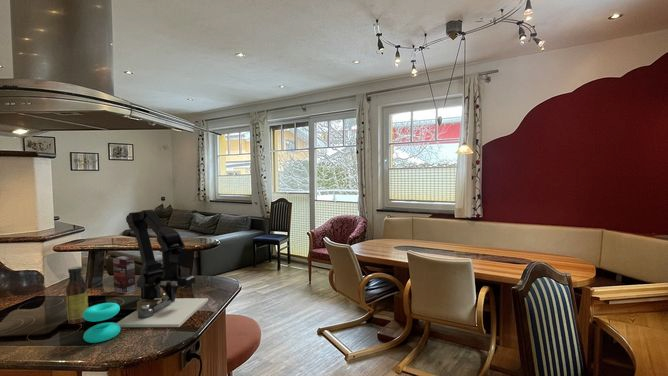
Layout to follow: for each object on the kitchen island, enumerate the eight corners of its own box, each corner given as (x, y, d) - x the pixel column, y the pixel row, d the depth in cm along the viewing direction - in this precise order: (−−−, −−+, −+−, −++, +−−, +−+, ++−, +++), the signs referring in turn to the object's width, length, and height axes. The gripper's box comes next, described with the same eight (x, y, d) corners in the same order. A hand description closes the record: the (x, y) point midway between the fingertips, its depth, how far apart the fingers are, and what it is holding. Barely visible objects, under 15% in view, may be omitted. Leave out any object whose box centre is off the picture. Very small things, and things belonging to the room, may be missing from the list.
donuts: (80, 307, 108) (116, 299, 115) (81, 337, 108) (116, 327, 115) (85, 315, 101) (123, 306, 108) (86, 347, 101) (123, 336, 108)
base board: (114, 327, 115) (114, 324, 115) (154, 300, 140) (154, 298, 140) (179, 327, 115) (178, 324, 115) (208, 300, 140) (207, 298, 140)
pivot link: (146, 319, 119) (146, 308, 119) (134, 318, 120) (134, 307, 120) (177, 301, 136) (177, 292, 136) (166, 300, 137) (166, 291, 137)
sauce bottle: (93, 319, 122) (91, 266, 122) (75, 326, 116) (73, 270, 116) (80, 316, 125) (79, 264, 124) (62, 323, 119) (60, 269, 118)
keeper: (136, 312, 126) (136, 301, 125) (141, 309, 129) (141, 299, 128) (157, 312, 125) (157, 301, 125) (161, 309, 128) (161, 299, 128)
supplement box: (113, 292, 152) (112, 258, 151) (123, 289, 156) (122, 255, 156) (126, 294, 149) (125, 259, 148) (136, 290, 153) (135, 257, 153)
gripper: (203, 258, 139) (205, 295, 139) (166, 258, 143) (168, 293, 144) (184, 265, 128) (186, 305, 128) (145, 264, 133) (147, 302, 133)
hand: (172, 301), depth 134 cm, fingers closed
